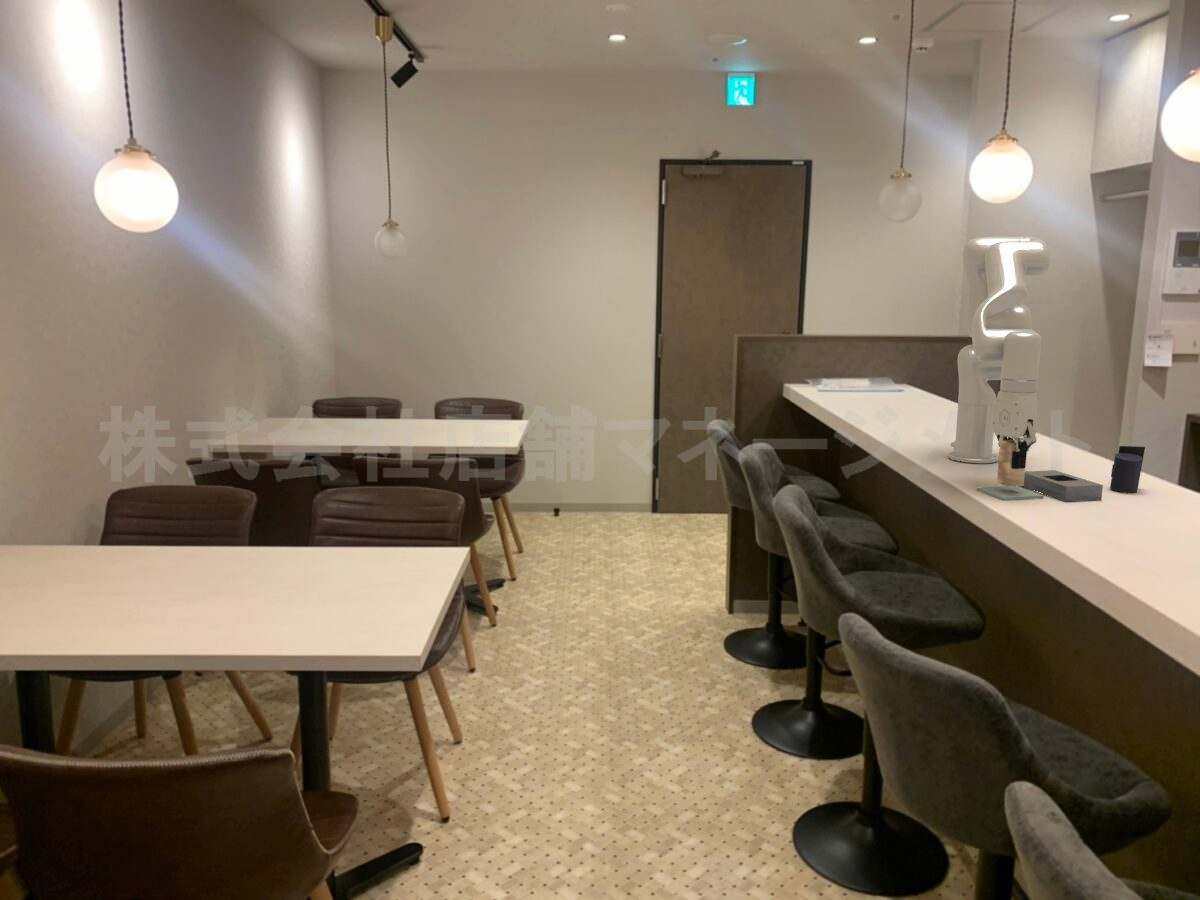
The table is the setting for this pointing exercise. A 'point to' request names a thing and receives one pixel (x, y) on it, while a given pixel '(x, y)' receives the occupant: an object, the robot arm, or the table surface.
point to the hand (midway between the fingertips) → (1011, 465)
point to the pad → (1009, 492)
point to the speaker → (1127, 469)
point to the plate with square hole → (1062, 486)
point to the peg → (1009, 466)
